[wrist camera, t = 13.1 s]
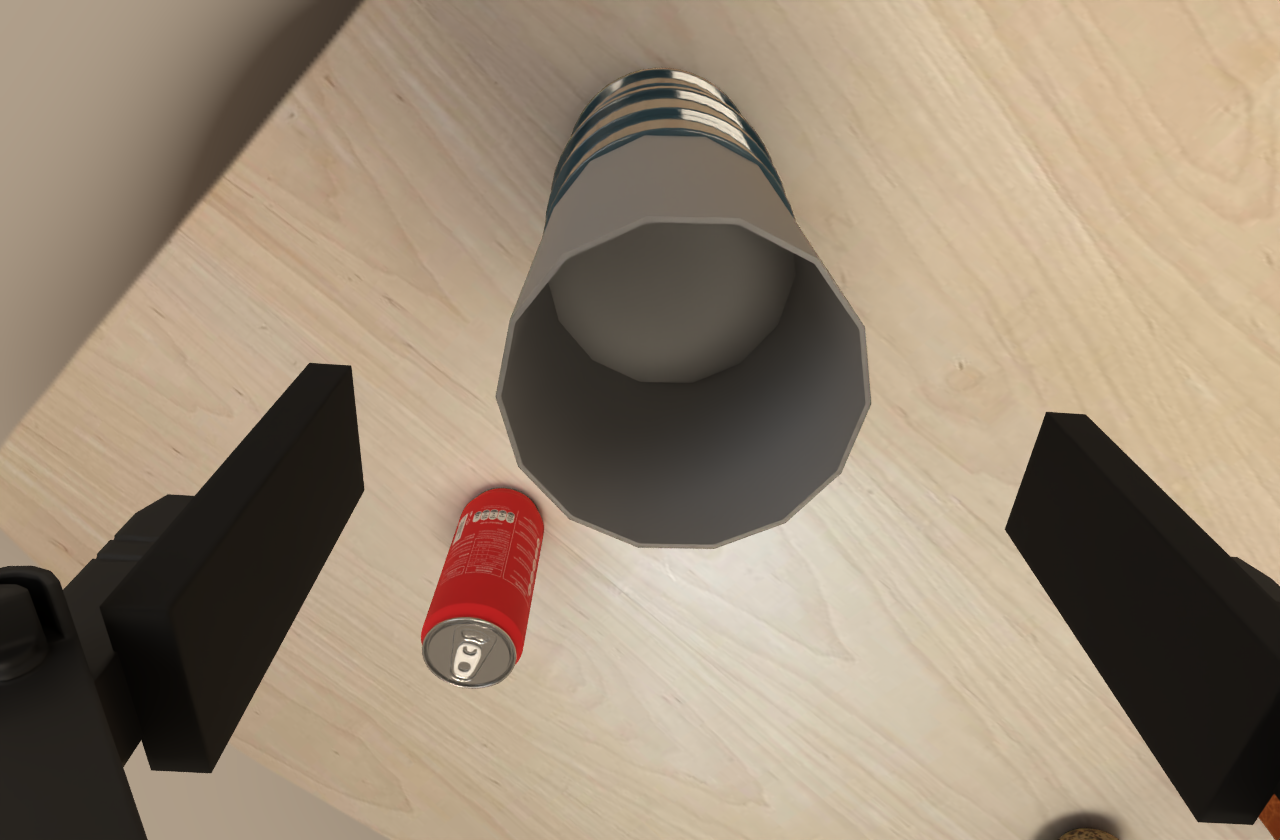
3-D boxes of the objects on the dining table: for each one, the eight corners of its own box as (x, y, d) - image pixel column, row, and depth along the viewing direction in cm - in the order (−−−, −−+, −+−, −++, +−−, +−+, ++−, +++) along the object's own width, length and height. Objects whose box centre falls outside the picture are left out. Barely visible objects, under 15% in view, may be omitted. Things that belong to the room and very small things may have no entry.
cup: (811, 139, 25) (902, 221, 16) (783, 379, 29) (845, 551, 20) (538, 132, 25) (482, 212, 16) (546, 375, 29) (506, 544, 20)
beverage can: (555, 496, 51) (533, 631, 40) (532, 559, 53) (505, 702, 42) (474, 472, 50) (429, 603, 39) (454, 537, 52) (406, 677, 41)
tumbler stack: (570, 60, 39) (529, 102, 25) (765, 75, 39) (835, 125, 25) (564, 252, 43) (527, 381, 29) (740, 264, 44) (787, 398, 29)
